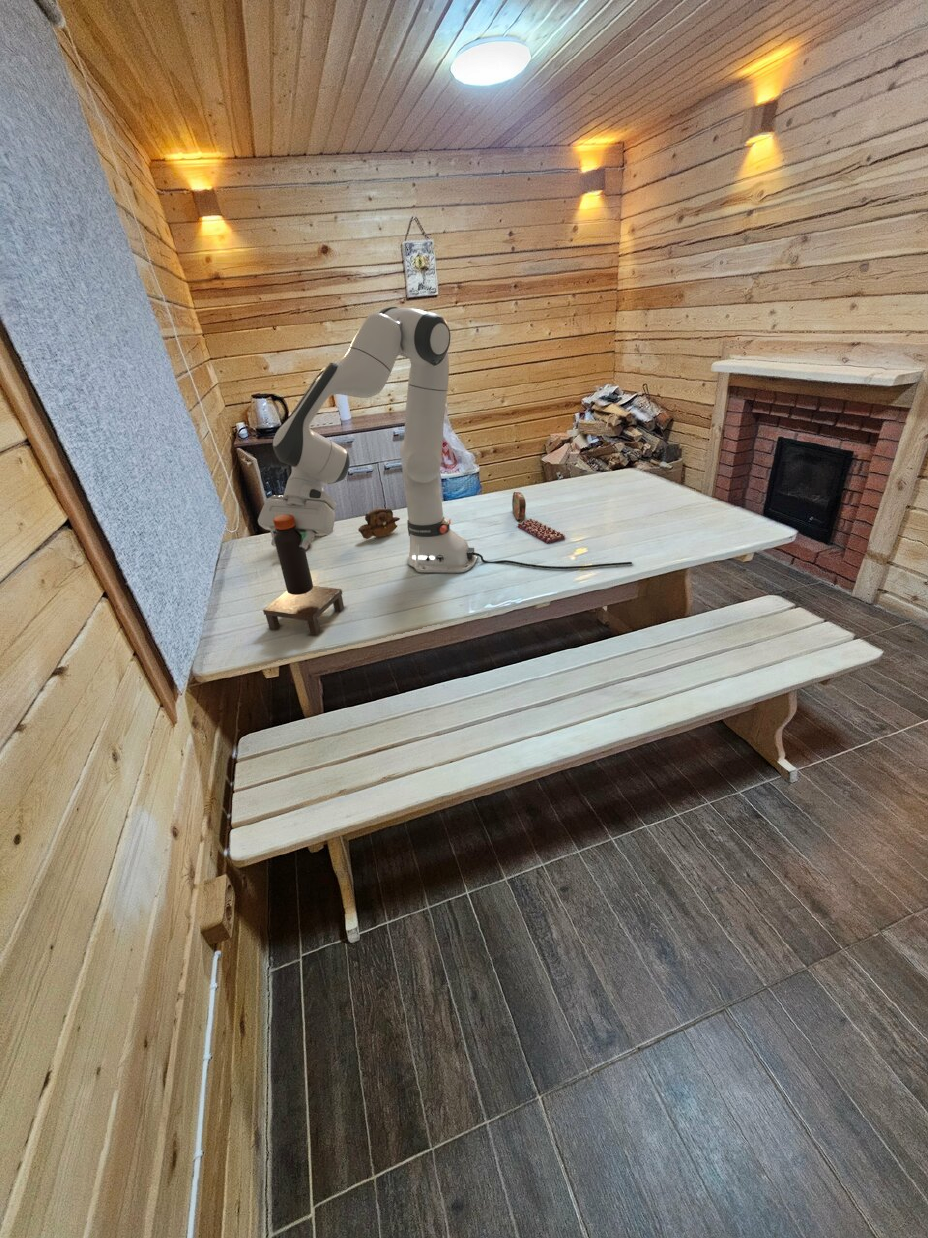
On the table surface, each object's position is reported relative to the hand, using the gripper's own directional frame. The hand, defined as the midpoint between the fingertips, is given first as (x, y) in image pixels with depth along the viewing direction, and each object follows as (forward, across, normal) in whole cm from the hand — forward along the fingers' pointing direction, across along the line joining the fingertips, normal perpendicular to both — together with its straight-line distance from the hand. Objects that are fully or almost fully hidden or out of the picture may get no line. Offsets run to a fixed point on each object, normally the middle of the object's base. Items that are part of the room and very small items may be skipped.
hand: (288, 547), depth 131 cm
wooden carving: (-26, -5, +57) cm, 63 cm away
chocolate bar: (-36, +51, +66) cm, 91 cm away
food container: (-15, -28, +46) cm, 55 cm away
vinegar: (+8, 0, +9) cm, 13 cm away
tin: (-47, +40, +77) cm, 99 cm away
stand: (+15, 0, +16) cm, 22 cm away
